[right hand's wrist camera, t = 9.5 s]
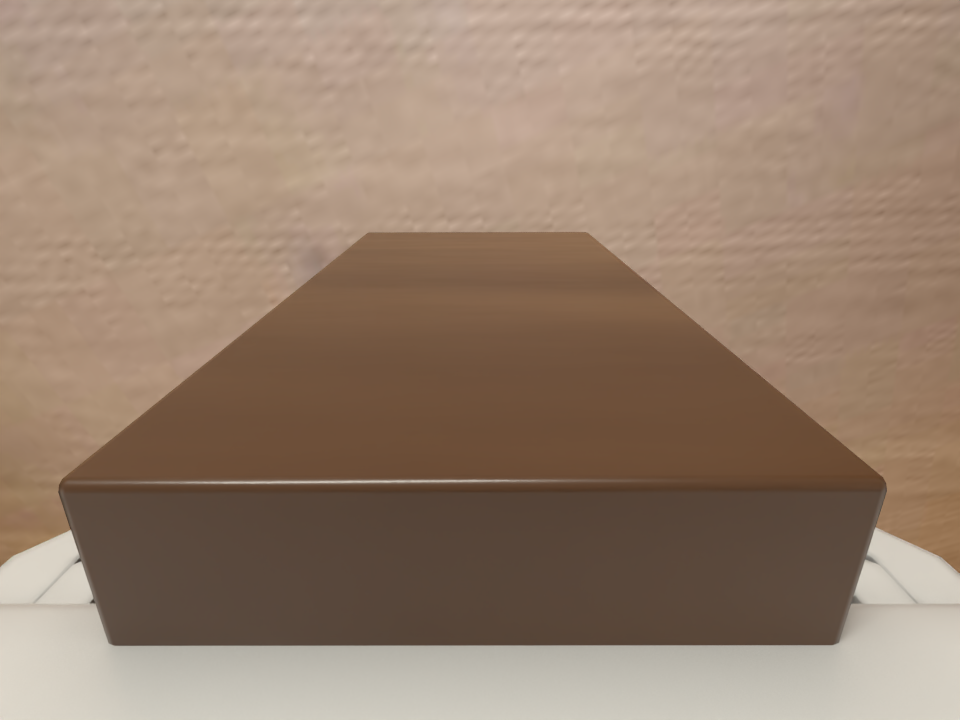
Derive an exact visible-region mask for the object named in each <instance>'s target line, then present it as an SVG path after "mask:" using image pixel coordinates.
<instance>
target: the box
mask: <svg viewBox="0 0 960 720" xmlns="http://www.w3.org/2000/svg"><path fill="white" fill-rule="evenodd" d="M886 492H887V488H886V482H885V481H884V479H883V477H882V476H880V475H879V474H878V473H877V472H876V471H874V470H873V469H872V468H871V467H870V466H868V465H867V464H866V463H865V462H863V461H862V460H861V459H860V458H859V457H857V456H856V455H855V454H854V453H853V452H851V451H850V450H849V449H848V448H847V447H845V446H844V445H843V444H842V443H841V442H839V441H838V440H837V439H836V438H835V437H833V436H832V435H831V434H830V433H828V432H827V431H826V430H825V429H824V428H822V427H821V426H820V425H819V424H818V423H816V422H815V421H814V420H813V419H812V418H810V417H809V416H808V415H807V414H806V413H804V412H803V411H802V410H801V409H800V408H798V407H797V406H796V405H795V404H794V403H792V402H791V401H790V400H789V399H787V398H786V397H785V396H784V395H783V394H781V393H780V392H779V391H778V390H777V389H775V388H774V387H773V386H772V385H771V384H769V383H768V382H767V381H766V380H765V379H763V378H762V377H761V376H760V375H759V374H757V373H756V372H755V371H754V370H753V369H751V368H750V367H749V366H748V365H746V364H745V363H744V362H743V361H742V360H740V359H739V358H738V357H737V356H736V355H734V354H733V353H732V352H731V351H730V350H728V349H727V348H726V347H725V346H724V345H722V344H721V343H720V342H719V341H718V340H716V339H715V338H714V337H713V336H711V335H710V334H709V333H708V332H707V331H705V330H704V329H703V328H702V327H701V326H699V325H698V324H697V323H696V322H695V321H693V320H692V319H691V318H690V317H689V316H687V315H686V314H685V313H684V312H683V311H681V310H680V309H679V308H678V307H677V306H675V305H674V304H673V303H672V302H670V301H669V300H668V299H667V298H666V297H664V296H663V295H662V294H661V293H660V292H658V291H657V290H656V289H655V288H654V287H652V286H651V285H650V284H649V283H648V282H646V281H645V280H644V279H643V278H642V277H640V276H639V275H638V274H637V273H636V272H634V271H633V270H632V269H631V268H629V267H628V266H627V265H626V264H625V263H623V262H622V261H621V260H620V259H619V258H617V257H616V256H615V255H614V254H613V253H611V252H610V251H609V250H608V249H607V248H605V247H604V246H603V245H602V244H601V243H599V242H598V241H597V240H596V239H594V238H593V237H592V236H591V235H590V234H588V233H586V232H445V233H367V234H366V235H365V236H363V237H362V238H361V239H360V240H358V241H357V242H356V243H355V244H353V245H352V246H351V247H350V248H349V249H347V250H346V251H345V252H344V253H342V254H341V255H340V256H339V257H337V258H336V259H335V260H334V261H332V262H331V263H330V264H329V265H327V266H326V267H325V268H324V269H322V270H321V271H320V272H319V273H318V274H316V275H315V276H314V277H313V278H311V279H310V280H309V281H308V282H306V283H305V284H304V285H303V286H301V287H300V288H299V289H298V290H296V291H295V292H294V293H293V294H291V295H290V296H289V297H288V298H286V299H285V300H284V301H283V302H282V303H280V304H279V305H278V306H277V307H275V308H274V309H273V310H272V311H270V312H269V313H268V314H267V315H265V316H264V317H263V318H262V319H260V320H259V321H258V322H257V323H255V324H254V325H253V326H252V327H250V328H249V329H248V330H247V331H246V332H244V333H243V334H242V335H241V336H239V337H238V338H237V339H236V340H234V341H233V342H232V343H231V344H229V345H228V346H227V347H226V348H224V349H223V350H222V351H221V352H219V353H218V354H217V355H216V356H214V357H213V358H212V359H211V360H210V361H208V362H207V363H206V364H205V365H203V366H202V367H201V368H200V369H198V370H197V371H196V372H195V373H193V374H192V375H191V376H190V377H188V378H187V379H186V380H185V381H183V382H182V383H181V384H180V385H178V386H177V387H176V388H175V389H174V390H172V391H171V392H170V393H169V394H167V395H166V396H165V397H164V398H162V399H161V400H160V401H159V402H157V403H156V404H155V405H154V406H152V407H151V408H150V409H149V410H147V411H146V412H145V413H144V414H143V415H141V416H140V417H139V418H138V419H136V420H135V421H134V422H133V423H131V424H130V425H129V426H128V427H126V428H125V429H124V430H123V431H121V432H120V433H119V434H118V435H116V436H115V437H114V438H113V439H111V440H110V441H109V442H108V443H107V444H105V445H104V446H103V447H102V448H100V449H99V450H98V451H97V452H95V453H94V454H93V455H92V456H90V457H89V458H88V459H87V460H85V461H84V462H83V463H82V464H80V465H79V466H78V467H77V468H75V469H74V470H73V471H72V472H71V473H69V474H68V475H67V476H66V477H64V478H63V479H62V481H61V483H60V484H59V495H60V498H61V501H62V505H63V508H64V511H65V514H66V517H67V520H68V523H69V526H70V529H71V532H72V535H73V538H74V541H75V544H76V547H77V550H78V553H79V556H80V559H81V562H82V565H83V568H84V571H85V574H86V577H87V580H88V583H89V586H90V589H91V592H92V595H93V598H94V601H95V604H96V607H97V610H98V613H99V616H100V619H101V622H102V625H103V628H104V631H105V634H106V637H107V640H108V643H109V644H111V645H114V646H552V645H835V644H837V643H839V640H840V637H841V634H842V631H843V628H844V624H845V621H846V618H847V615H848V612H849V609H850V606H851V602H852V599H853V596H854V593H855V590H856V587H857V583H858V580H859V577H860V574H861V571H862V568H863V565H864V561H865V558H866V555H867V552H868V549H869V546H870V542H871V539H872V536H873V533H874V530H875V527H876V523H877V520H878V517H879V514H880V511H881V508H882V505H883V501H884V498H885V495H886Z"/></svg>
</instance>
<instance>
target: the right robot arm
mask: <svg viewBox="0 0 960 720" xmlns="http://www.w3.org/2000/svg"><path fill="white" fill-rule="evenodd" d="M0 720H960V574H959V573H958V572H957V571H956V570H955V569H954V568H953V567H951V566H950V565H949V564H948V563H947V562H946V561H945V560H944V559H943V558H941V557H940V556H937V555H935V554H933V553H931V552H929V551H926V550H924V549H922V548H920V547H918V546H915V545H913V544H911V543H909V542H907V541H904V540H902V539H900V538H898V537H896V536H894V535H891V534H889V533H887V532H885V531H883V530H880V529H878V528H876V527H875V530H874V533H873V536H872V539H871V542H870V546H869V549H868V552H867V555H866V558H865V561H864V565H863V568H862V571H861V574H860V577H859V580H858V583H857V587H856V590H855V593H854V596H853V599H852V602H851V606H850V609H849V612H848V615H847V618H846V621H845V624H844V628H843V631H842V634H841V637H840V640H839V643H837V644H835V645H552V646H114V645H111V644H109V643H108V640H107V637H106V634H105V631H104V628H103V625H102V622H101V619H100V616H99V613H98V610H97V607H96V604H95V601H94V598H93V595H92V592H91V589H90V586H89V583H88V580H87V577H86V574H85V571H84V568H83V565H82V562H81V559H80V556H79V553H78V550H77V547H76V544H75V541H74V538H73V535H72V532H71V530H70V531H68V532H65V533H63V534H61V535H59V536H56V537H54V538H52V539H50V540H48V541H45V542H43V543H41V544H39V545H36V546H34V547H32V548H30V549H28V550H25V551H23V552H21V553H19V554H16V555H14V556H12V557H11V558H10V559H9V560H8V561H6V562H5V563H4V564H3V565H2V566H1V567H0Z"/></svg>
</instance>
